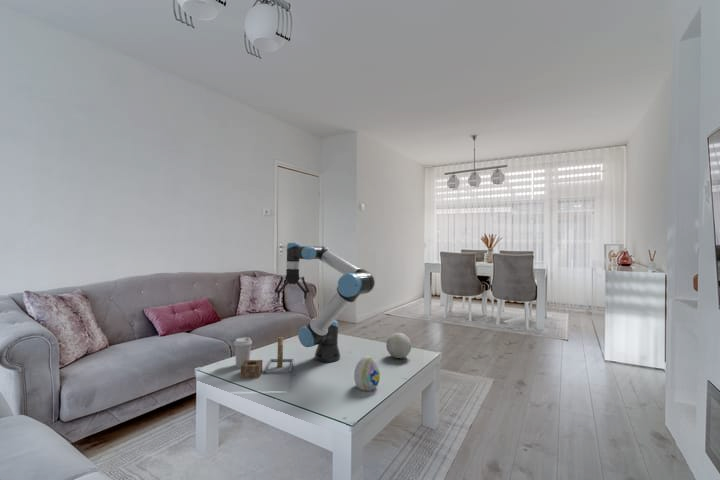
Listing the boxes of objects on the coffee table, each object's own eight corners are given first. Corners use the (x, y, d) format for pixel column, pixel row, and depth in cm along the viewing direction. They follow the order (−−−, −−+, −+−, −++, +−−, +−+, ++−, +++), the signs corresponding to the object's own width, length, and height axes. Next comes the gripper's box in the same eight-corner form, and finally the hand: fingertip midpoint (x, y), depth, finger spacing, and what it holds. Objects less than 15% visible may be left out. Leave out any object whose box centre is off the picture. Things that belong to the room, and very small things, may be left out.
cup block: (262, 372, 180) (262, 359, 181) (259, 379, 172) (259, 366, 172) (244, 372, 179) (244, 360, 180) (240, 379, 171) (240, 366, 171)
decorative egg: (368, 395, 156) (369, 362, 156) (348, 387, 164) (349, 356, 164) (384, 387, 166) (385, 356, 166) (365, 380, 174) (365, 350, 174)
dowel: (282, 366, 188) (283, 337, 189) (282, 368, 186) (283, 338, 186) (277, 366, 188) (278, 337, 188) (276, 368, 185) (277, 338, 186)
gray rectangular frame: (293, 362, 197) (293, 358, 197) (290, 374, 178) (290, 370, 178) (270, 362, 196) (270, 358, 196) (264, 375, 177) (264, 371, 177)
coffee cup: (245, 371, 182) (246, 342, 182) (229, 369, 184) (230, 341, 184) (254, 365, 191) (255, 337, 191) (239, 363, 193) (240, 336, 193)
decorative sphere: (385, 361, 203) (386, 335, 203) (386, 353, 218) (387, 329, 218) (411, 362, 201) (411, 337, 201) (410, 354, 216) (411, 330, 216)
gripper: (314, 268, 211) (313, 303, 211) (272, 267, 208) (271, 302, 208) (313, 269, 203) (312, 305, 203) (270, 268, 201) (269, 305, 200)
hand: (291, 304), depth 206 cm, fingers open, 13 cm apart
